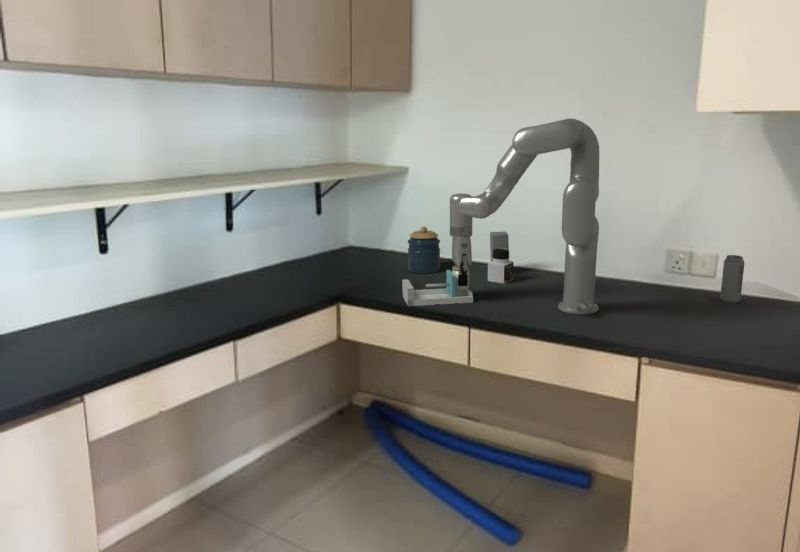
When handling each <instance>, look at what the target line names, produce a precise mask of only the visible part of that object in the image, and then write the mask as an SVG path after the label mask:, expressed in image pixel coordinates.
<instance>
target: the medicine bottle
mask: <svg viewBox="0 0 800 552" xmlns="http://www.w3.org/2000/svg"><path fill="white" fill-rule="evenodd" d="M493 260H494V261H491V260H490V261H489V262H487V282H491V283H497V284H507V283H509V282H511V281H514V261H513V260H510V249H509V250H507V249H504V248H497V249H494V250H493ZM508 260H509V261H508Z"/></svg>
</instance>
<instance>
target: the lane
mask: <svg viewBox="0 0 800 552" xmlns="http://www.w3.org/2000/svg"><path fill="white" fill-rule="evenodd" d="M402 298H403V300H404V302H405V304H406V305H407V307H416V306H417V307H419V306H434V305H435V304H436V305H435V306H437V304H439V305H450V304H451V305H452V304H455V303H457V304H472V303H474V296H473V292H472V291H471V290H470V289H469V288H468V289H463V290H459V289H456V297H450V296H449V295H448V294H447V292H446V288H432V289H429V288H428V289H415V288H414V286H413V284H412V283H411V281H410V280H409V279H406V278H405V279H402Z"/></svg>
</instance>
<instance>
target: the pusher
mask: <svg viewBox="0 0 800 552" xmlns="http://www.w3.org/2000/svg"><path fill="white" fill-rule="evenodd" d="M445 277H446V279H445V280H446V282H444V283H426V284H425V288H435V287H436V288H437V287H439V288H440V287H446V288H445V289H446V292H447V294H448V295H449V296H450V297H456V276H455V275H454V274H453V271H452V270H451V269H446V276H445Z"/></svg>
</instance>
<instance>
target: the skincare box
mask: <svg viewBox="0 0 800 552" xmlns="http://www.w3.org/2000/svg"><path fill="white" fill-rule="evenodd" d="M509 241H510V240H509V234H508V232H507V231H506V230H505V231H490V232H489V243H490V244H489V245H490V246H489V247H490V262H491V261H494V260H493V250H494V249H497V248H504V249H507V250H509V251H510V249H509V247H510V244H509ZM508 261H510V259H509V260H508Z"/></svg>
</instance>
